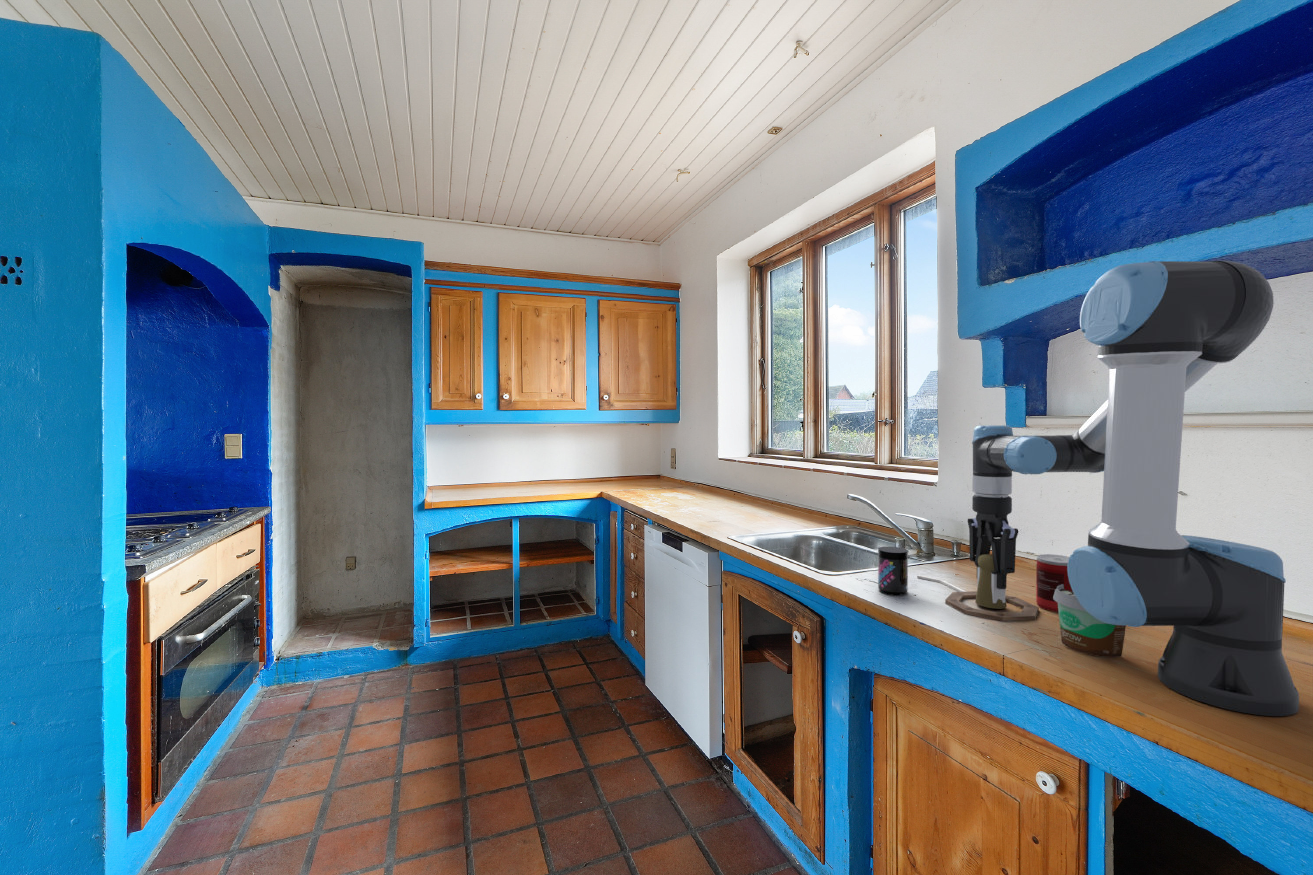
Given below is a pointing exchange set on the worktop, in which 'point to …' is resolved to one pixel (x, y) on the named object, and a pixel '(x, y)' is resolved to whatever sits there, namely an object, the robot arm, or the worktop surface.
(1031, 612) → the ring
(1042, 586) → the canned food
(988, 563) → the olive green pawn
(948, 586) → the lace cord
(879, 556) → the supplement container
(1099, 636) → the food container
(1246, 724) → the worktop surface
